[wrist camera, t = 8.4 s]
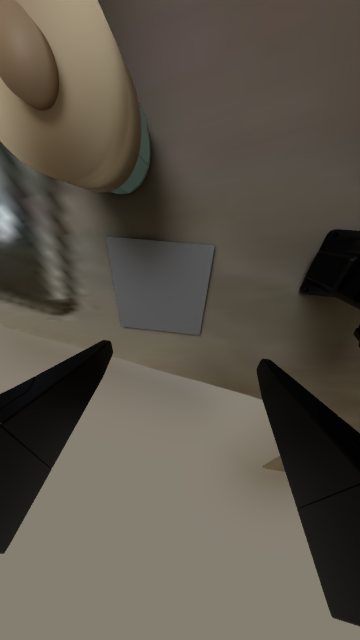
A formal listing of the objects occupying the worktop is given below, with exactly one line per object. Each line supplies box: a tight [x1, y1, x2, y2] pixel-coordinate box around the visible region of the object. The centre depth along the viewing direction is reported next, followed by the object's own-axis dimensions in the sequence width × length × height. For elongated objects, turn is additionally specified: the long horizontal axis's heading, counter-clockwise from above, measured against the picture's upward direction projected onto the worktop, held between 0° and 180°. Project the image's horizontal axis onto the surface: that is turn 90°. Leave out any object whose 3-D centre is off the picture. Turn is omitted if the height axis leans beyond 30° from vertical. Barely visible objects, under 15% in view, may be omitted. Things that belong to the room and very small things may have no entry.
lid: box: [0, 0, 141, 193], centre depth 8 cm, size 7×7×5 cm
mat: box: [106, 236, 215, 335], centre depth 20 cm, size 12×12×1 cm
